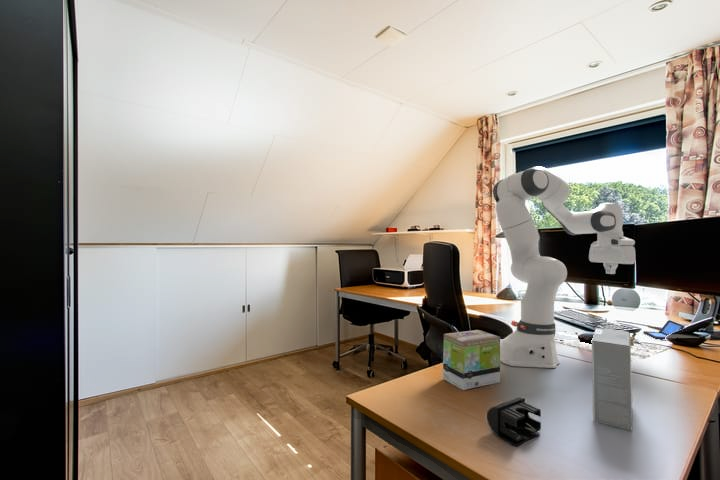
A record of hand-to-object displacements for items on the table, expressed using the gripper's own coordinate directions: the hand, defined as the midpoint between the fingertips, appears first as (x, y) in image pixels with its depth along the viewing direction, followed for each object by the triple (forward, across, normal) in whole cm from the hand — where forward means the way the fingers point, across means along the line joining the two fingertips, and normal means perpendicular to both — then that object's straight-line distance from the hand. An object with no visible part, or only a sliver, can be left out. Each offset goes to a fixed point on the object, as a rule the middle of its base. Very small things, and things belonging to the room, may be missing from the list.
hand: (610, 273), depth 139 cm
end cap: (+31, +59, -75) cm, 100 cm away
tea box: (+31, +30, -73) cm, 85 cm away
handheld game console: (+32, -14, +38) cm, 51 cm away
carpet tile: (+32, -7, -1) cm, 33 cm away
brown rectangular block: (+29, +2, +5) cm, 29 cm away
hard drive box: (+31, +52, -45) cm, 76 cm away
